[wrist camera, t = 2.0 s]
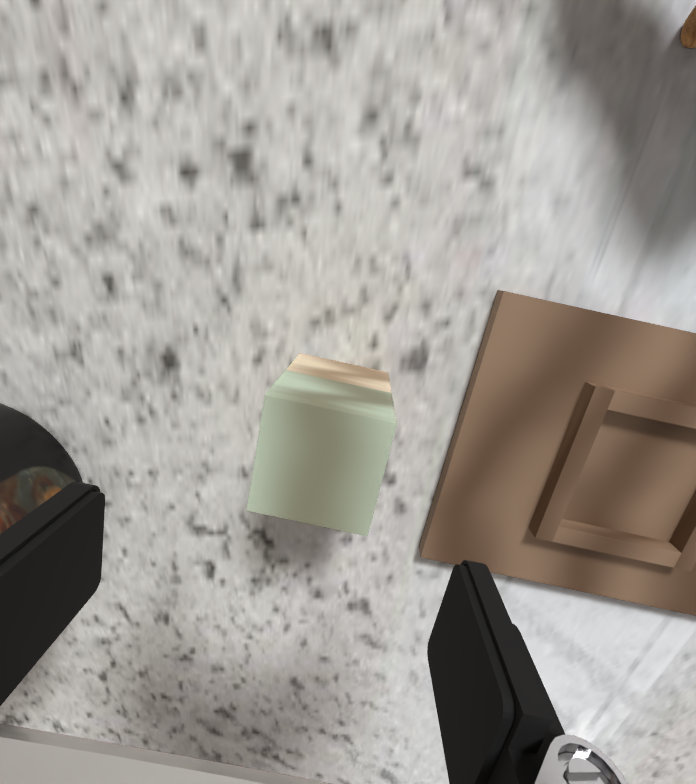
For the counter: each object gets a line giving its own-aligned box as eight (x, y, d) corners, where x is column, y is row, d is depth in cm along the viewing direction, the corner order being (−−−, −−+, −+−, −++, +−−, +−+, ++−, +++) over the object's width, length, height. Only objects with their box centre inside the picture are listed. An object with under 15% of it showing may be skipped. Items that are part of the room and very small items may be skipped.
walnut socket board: (870, 372, 22) (919, 382, 20) (727, 612, 26) (755, 639, 24) (497, 290, 21) (510, 292, 20) (419, 546, 26) (422, 568, 24)
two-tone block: (387, 372, 23) (396, 423, 15) (368, 452, 24) (367, 536, 17) (299, 353, 23) (264, 394, 15) (285, 434, 24) (246, 510, 17)
